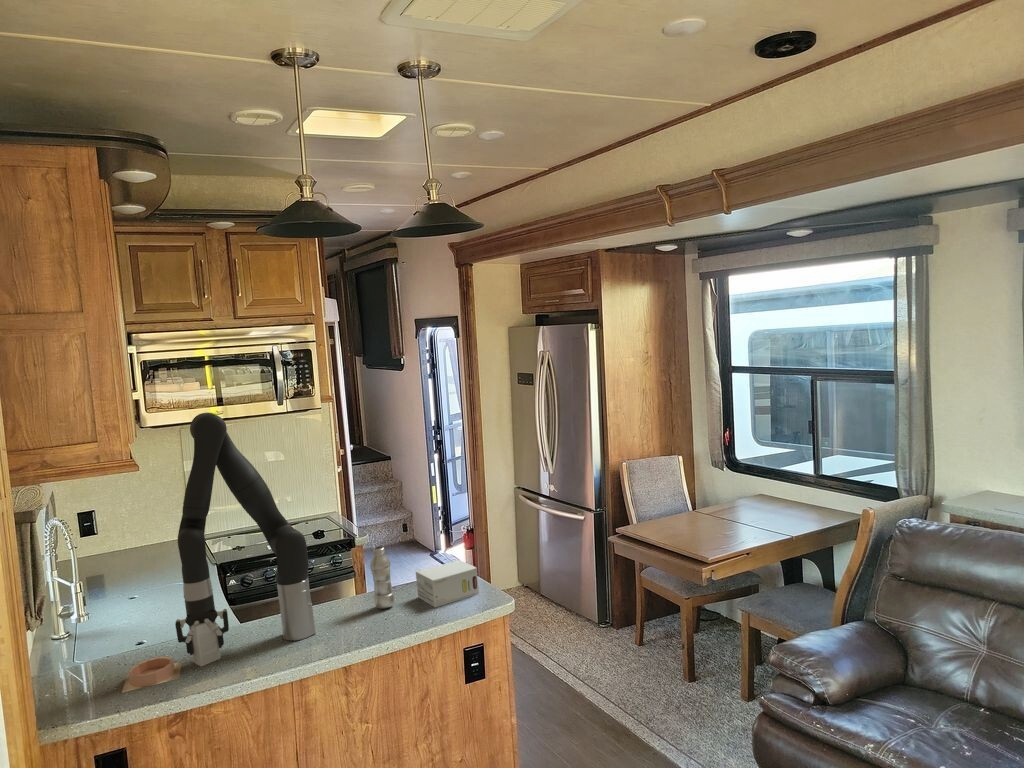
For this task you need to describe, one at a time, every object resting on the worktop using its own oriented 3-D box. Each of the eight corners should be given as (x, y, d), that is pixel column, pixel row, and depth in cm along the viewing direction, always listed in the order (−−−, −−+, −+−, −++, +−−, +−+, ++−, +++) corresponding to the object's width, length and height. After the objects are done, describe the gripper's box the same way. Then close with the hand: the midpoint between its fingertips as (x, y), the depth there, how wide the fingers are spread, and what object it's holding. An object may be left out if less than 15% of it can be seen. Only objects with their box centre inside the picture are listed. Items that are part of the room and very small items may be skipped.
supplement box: (435, 608, 229) (432, 580, 228) (417, 598, 240) (414, 571, 239) (480, 594, 238) (477, 566, 237) (461, 584, 249) (458, 558, 248)
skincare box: (213, 656, 208) (208, 616, 207) (221, 659, 205) (215, 619, 205) (193, 664, 203) (188, 624, 203) (200, 667, 201) (195, 626, 200)
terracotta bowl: (175, 663, 204) (174, 653, 204) (173, 679, 194) (171, 668, 194) (133, 673, 200) (131, 663, 200) (128, 690, 190) (126, 679, 190)
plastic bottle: (397, 608, 232) (390, 548, 231) (376, 612, 229) (369, 552, 228) (393, 601, 238) (386, 543, 237) (373, 606, 235) (366, 547, 234)
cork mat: (181, 662, 206) (181, 661, 206) (179, 679, 194) (179, 678, 194) (127, 675, 200) (127, 674, 200) (121, 694, 189) (121, 692, 189)
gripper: (225, 585, 209) (232, 639, 210) (172, 596, 204) (179, 652, 205) (225, 593, 202) (232, 649, 203) (170, 604, 197) (178, 662, 198)
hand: (206, 650), depth 204 cm, fingers closed on skincare box, 7 cm apart
